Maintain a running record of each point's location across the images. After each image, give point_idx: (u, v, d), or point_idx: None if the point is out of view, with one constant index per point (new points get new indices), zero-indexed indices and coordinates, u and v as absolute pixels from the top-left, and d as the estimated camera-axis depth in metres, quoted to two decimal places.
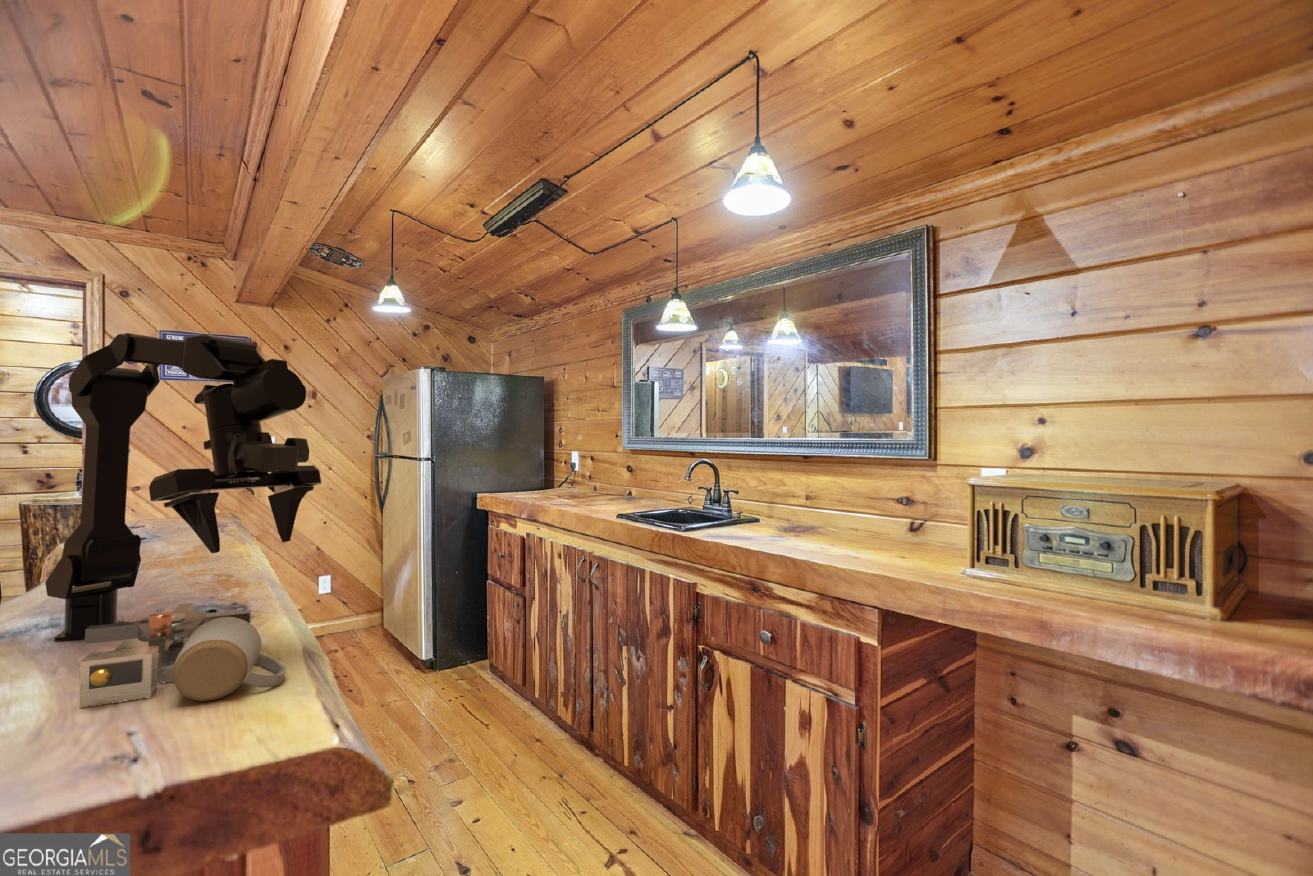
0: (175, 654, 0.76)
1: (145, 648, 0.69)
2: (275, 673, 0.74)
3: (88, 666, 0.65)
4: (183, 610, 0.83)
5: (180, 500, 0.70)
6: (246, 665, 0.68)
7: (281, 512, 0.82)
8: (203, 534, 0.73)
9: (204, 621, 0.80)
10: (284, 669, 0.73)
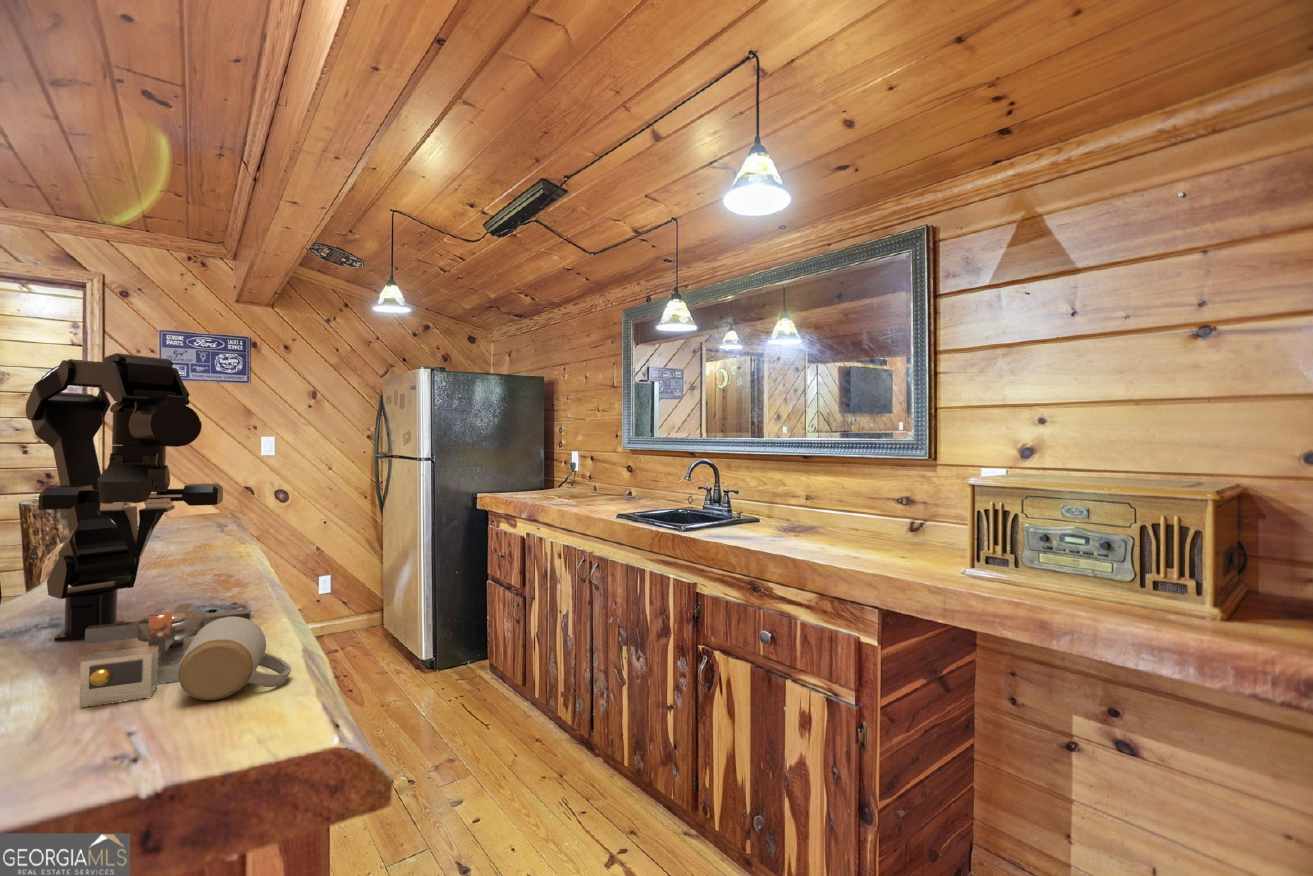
0: (175, 654, 0.76)
1: (145, 648, 0.69)
2: (280, 673, 0.74)
3: (88, 666, 0.65)
4: (183, 610, 0.83)
5: None
6: (252, 665, 0.69)
7: None
8: None
9: (204, 621, 0.80)
10: (289, 669, 0.73)
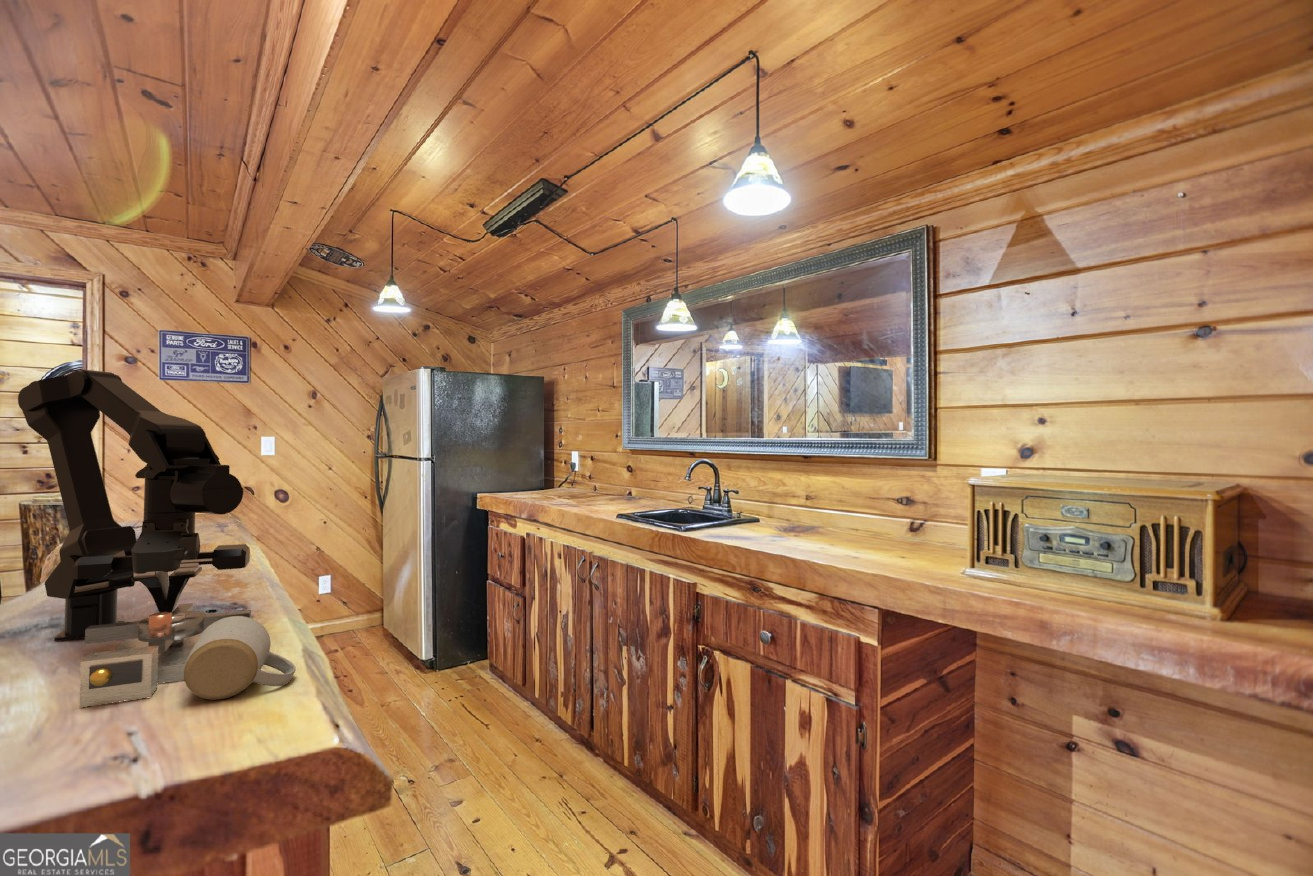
0: (175, 654, 0.76)
1: (145, 648, 0.69)
2: (284, 672, 0.74)
3: (88, 666, 0.65)
4: (183, 610, 0.83)
5: None
6: (256, 664, 0.69)
7: None
8: None
9: (204, 621, 0.80)
10: (293, 668, 0.74)
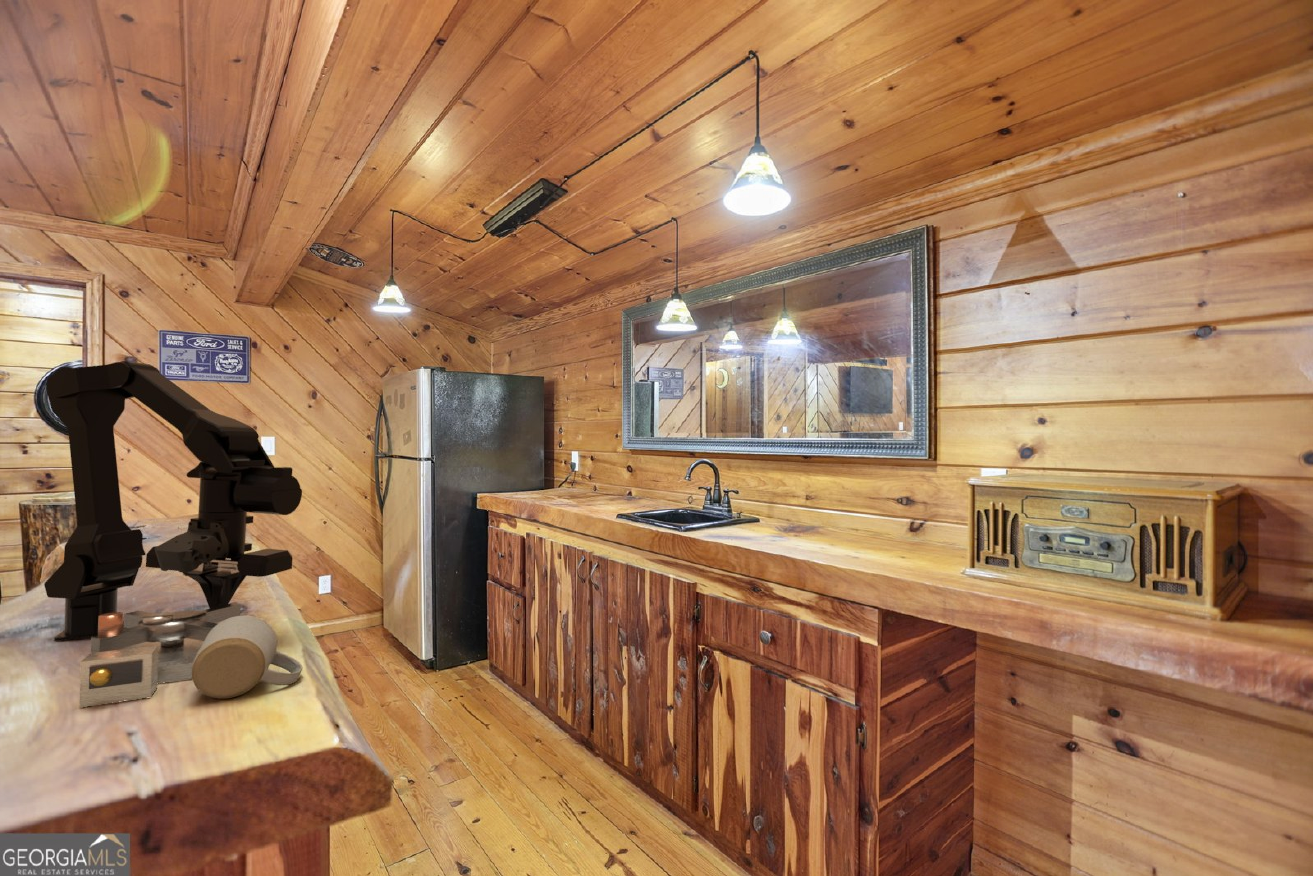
0: (175, 654, 0.76)
1: (145, 648, 0.69)
2: (291, 671, 0.75)
3: (88, 666, 0.65)
4: (209, 610, 0.83)
5: None
6: (264, 664, 0.69)
7: None
8: None
9: (184, 627, 0.77)
10: (300, 667, 0.74)
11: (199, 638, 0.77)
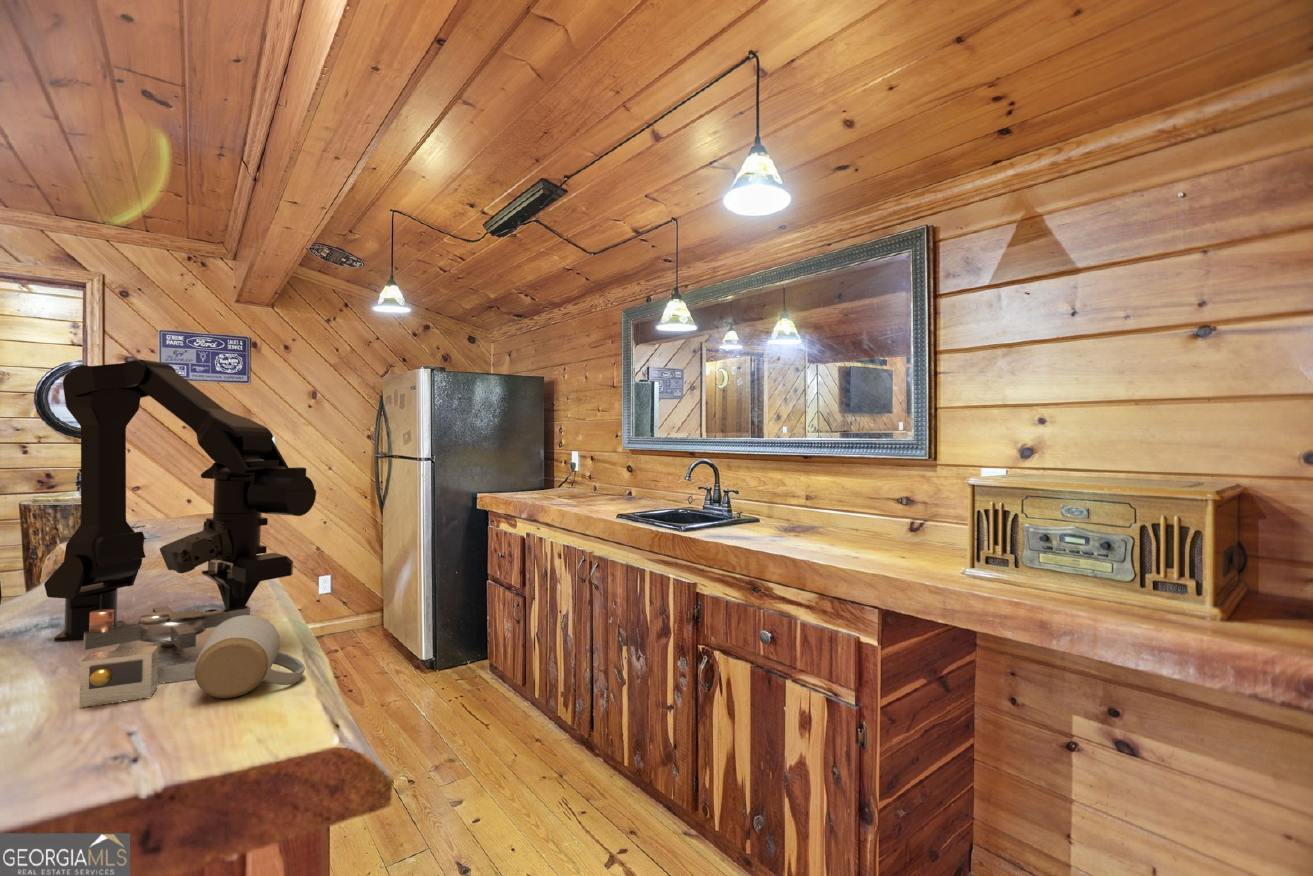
0: (175, 654, 0.76)
1: (145, 648, 0.69)
2: (294, 671, 0.75)
3: (88, 666, 0.65)
4: (214, 613, 0.82)
5: None
6: (267, 663, 0.69)
7: None
8: None
9: (170, 630, 0.76)
10: (303, 667, 0.74)
11: (175, 643, 0.75)
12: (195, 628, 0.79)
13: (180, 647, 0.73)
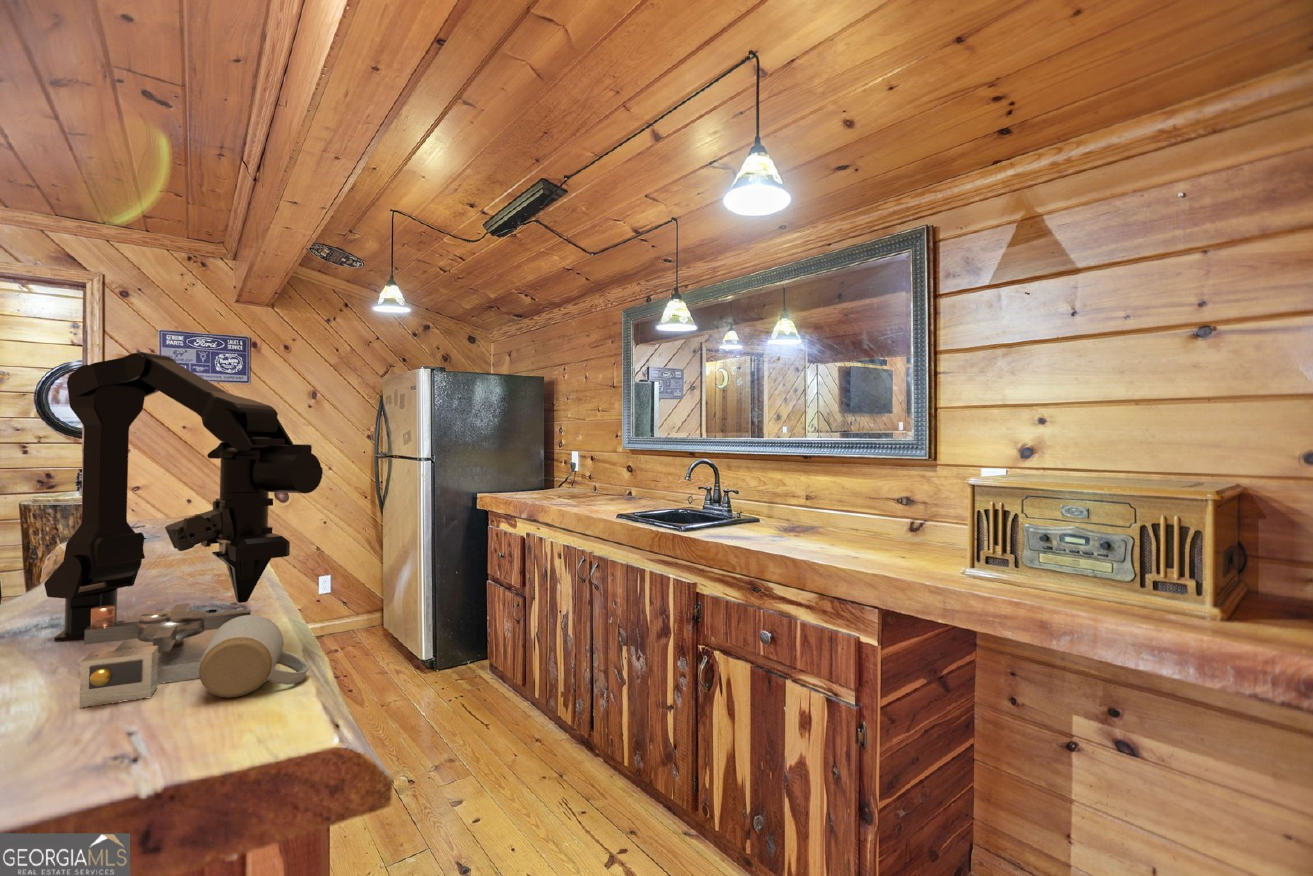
0: (175, 654, 0.76)
1: (145, 648, 0.69)
2: (297, 670, 0.75)
3: (88, 666, 0.65)
4: (213, 615, 0.81)
5: None
6: (271, 663, 0.69)
7: None
8: None
9: None
10: (306, 666, 0.74)
11: None
12: (187, 630, 0.78)
13: None
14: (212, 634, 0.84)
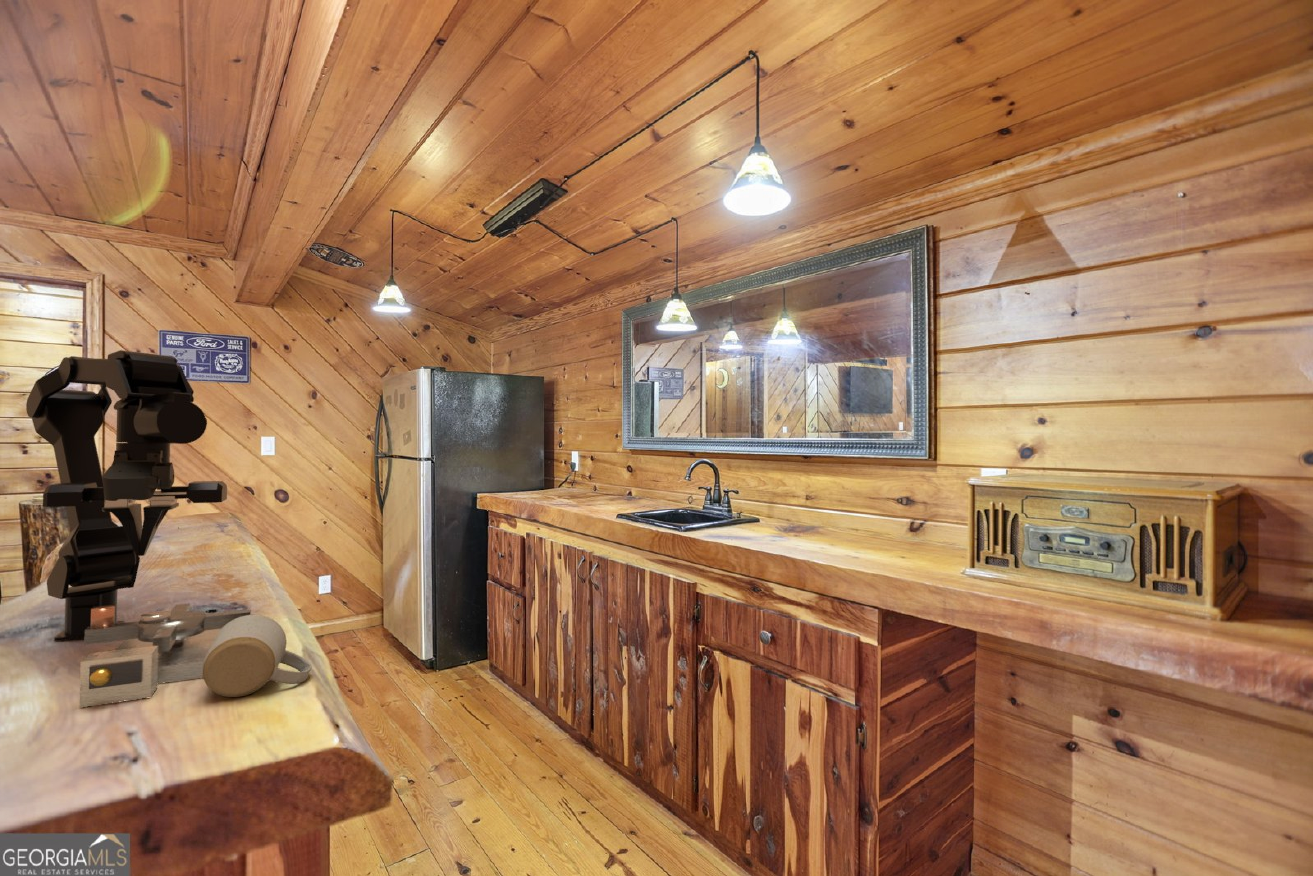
0: (175, 654, 0.76)
1: (145, 648, 0.69)
2: (300, 670, 0.75)
3: (88, 666, 0.65)
4: (213, 615, 0.81)
5: None
6: (274, 662, 0.70)
7: None
8: None
9: None
10: (309, 666, 0.74)
11: None
12: (187, 630, 0.78)
13: None
14: (212, 634, 0.84)
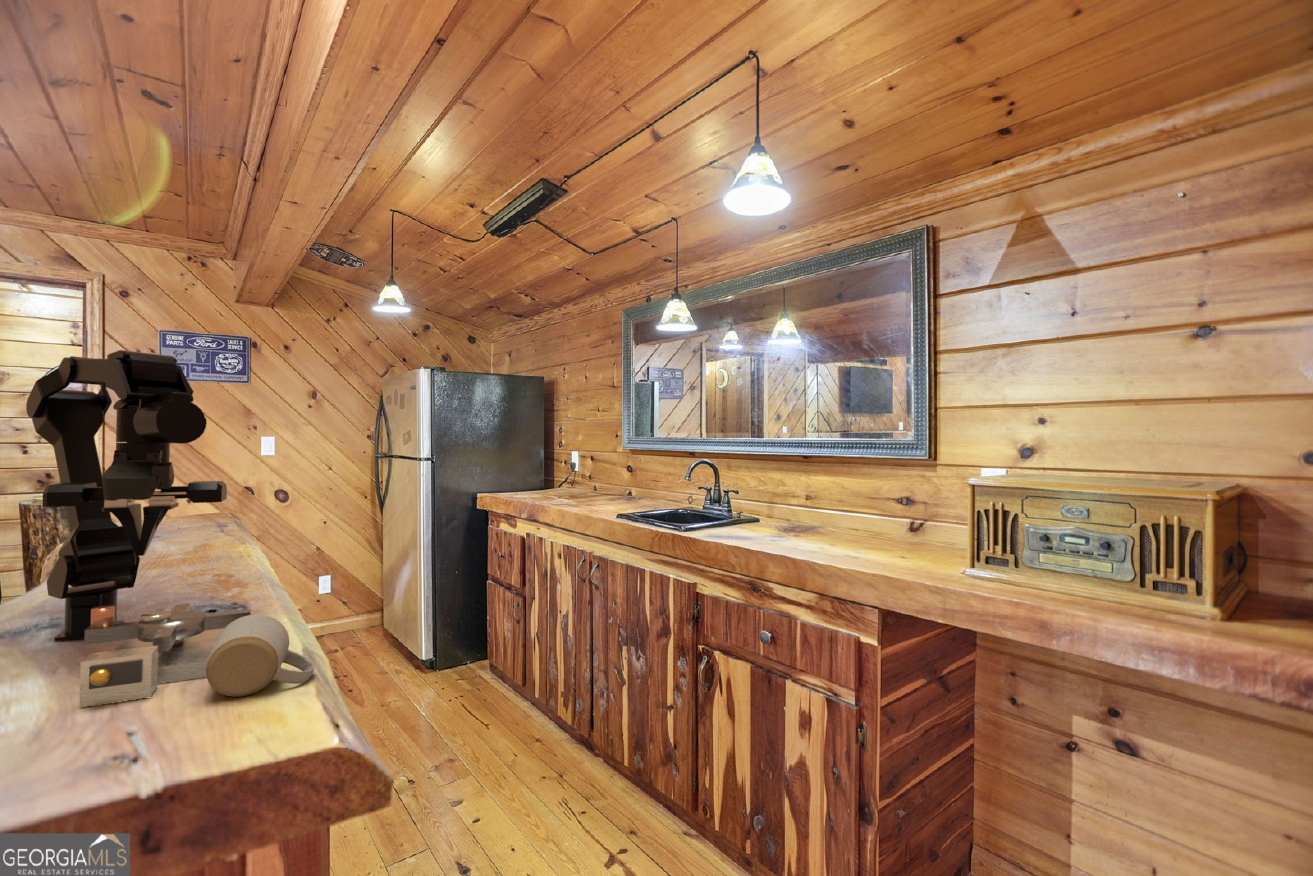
0: (175, 654, 0.76)
1: (145, 648, 0.69)
2: (303, 670, 0.75)
3: (88, 666, 0.65)
4: (213, 615, 0.81)
5: None
6: (277, 662, 0.70)
7: None
8: None
9: None
10: (312, 666, 0.74)
11: None
12: (187, 630, 0.78)
13: None
14: (212, 634, 0.84)
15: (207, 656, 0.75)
